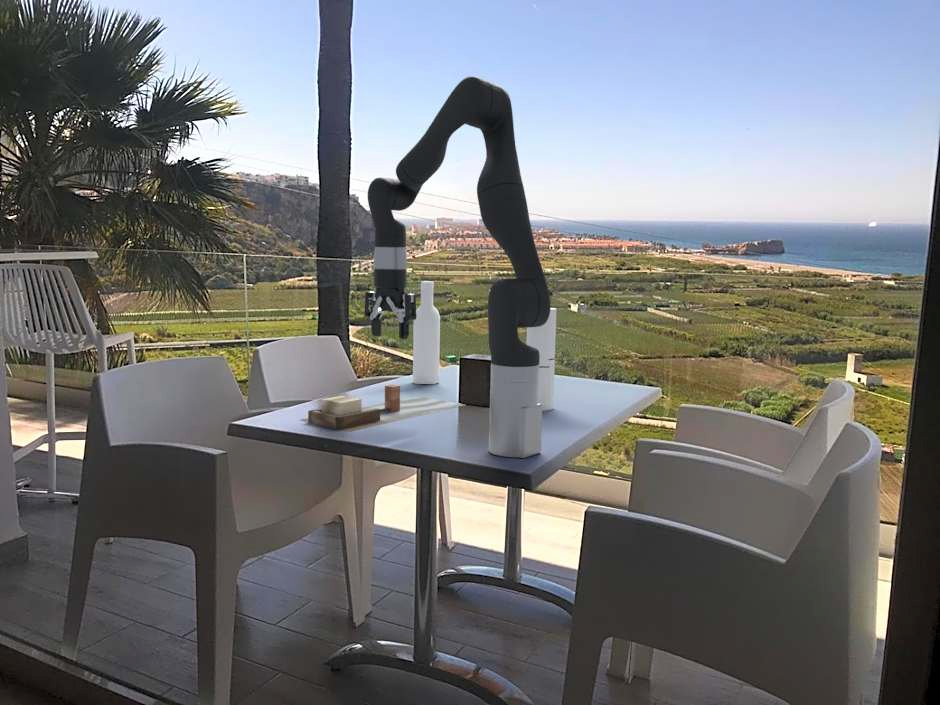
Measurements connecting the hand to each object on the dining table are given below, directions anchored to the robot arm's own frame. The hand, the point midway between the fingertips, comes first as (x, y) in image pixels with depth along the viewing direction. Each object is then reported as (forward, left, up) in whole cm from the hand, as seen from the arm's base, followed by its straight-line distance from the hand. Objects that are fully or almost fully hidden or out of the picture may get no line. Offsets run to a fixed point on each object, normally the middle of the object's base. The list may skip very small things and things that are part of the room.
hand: (389, 337), depth 173 cm
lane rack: (0, +1, -18) cm, 18 cm away
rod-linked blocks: (0, +8, -18) cm, 19 cm away
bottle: (+24, -40, -19) cm, 50 cm away
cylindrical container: (-21, -32, -19) cm, 42 cm away
